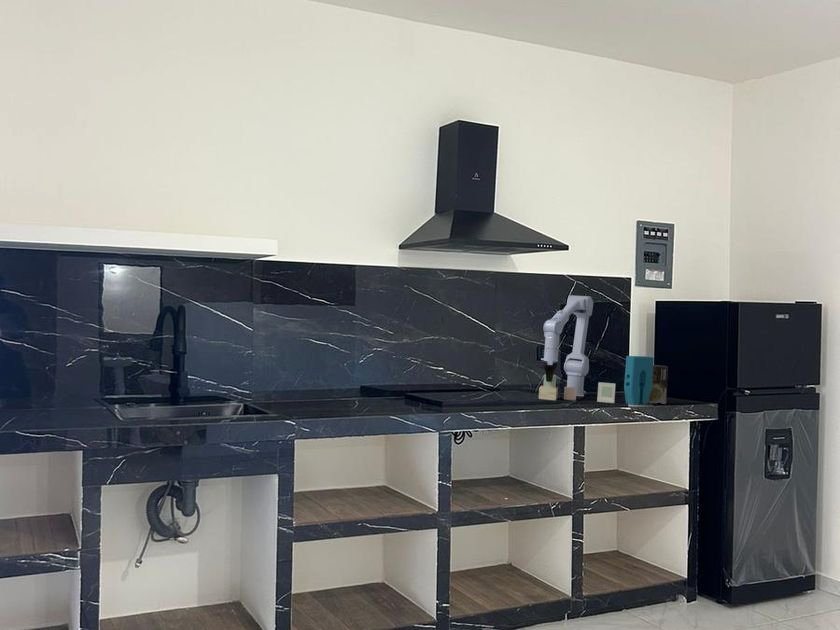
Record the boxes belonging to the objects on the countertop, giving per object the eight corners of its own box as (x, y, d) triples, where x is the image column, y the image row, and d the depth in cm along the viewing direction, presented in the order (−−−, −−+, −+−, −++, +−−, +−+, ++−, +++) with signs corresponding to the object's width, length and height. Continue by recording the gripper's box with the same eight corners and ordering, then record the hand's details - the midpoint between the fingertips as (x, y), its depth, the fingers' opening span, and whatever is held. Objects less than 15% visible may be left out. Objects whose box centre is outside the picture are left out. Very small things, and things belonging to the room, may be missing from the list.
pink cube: (563, 398, 374) (564, 386, 374) (575, 399, 373) (576, 387, 373) (563, 399, 369) (564, 387, 369) (575, 400, 369) (576, 388, 368)
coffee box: (663, 402, 382) (666, 365, 381) (666, 404, 375) (668, 367, 375) (642, 401, 383) (644, 364, 382) (644, 402, 376) (647, 365, 376)
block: (642, 402, 376) (646, 356, 375) (651, 404, 371) (654, 357, 371) (621, 403, 370) (625, 355, 369) (630, 404, 365) (633, 357, 365)
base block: (540, 397, 372) (541, 385, 372) (557, 398, 371) (557, 387, 370) (538, 399, 366) (539, 387, 365) (555, 400, 364) (556, 388, 364)
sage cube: (543, 386, 371) (544, 374, 371) (555, 387, 370) (556, 375, 370) (543, 387, 366) (544, 375, 366) (555, 388, 365) (556, 376, 365)
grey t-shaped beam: (597, 400, 372) (598, 381, 372) (613, 402, 371) (615, 383, 371) (597, 401, 368) (598, 382, 368) (614, 403, 367) (615, 384, 367)
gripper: (542, 347, 375) (540, 378, 376) (541, 348, 361) (538, 381, 361) (559, 348, 374) (556, 379, 374) (558, 350, 360) (556, 383, 360)
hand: (549, 380), depth 368 cm, fingers open, 7 cm apart
